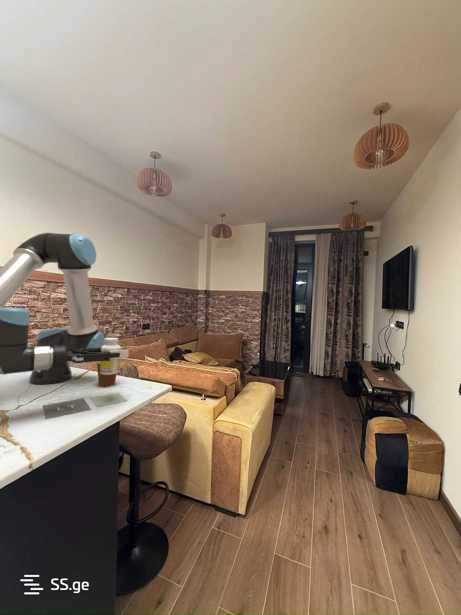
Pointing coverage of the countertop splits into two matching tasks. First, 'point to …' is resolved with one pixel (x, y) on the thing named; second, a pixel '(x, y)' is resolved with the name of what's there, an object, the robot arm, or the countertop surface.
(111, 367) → the supplement bottle
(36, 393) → the countertop surface
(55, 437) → the countertop surface
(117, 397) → the mat
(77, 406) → the mat
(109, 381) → the disposable coffee cup
